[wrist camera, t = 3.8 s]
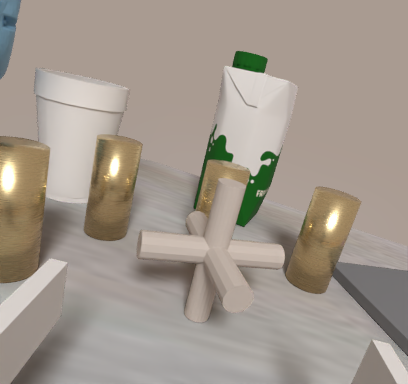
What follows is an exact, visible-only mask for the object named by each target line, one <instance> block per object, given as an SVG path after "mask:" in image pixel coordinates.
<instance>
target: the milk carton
mask: <svg viewBox="0 0 408 384" xmlns="http://www.w3.org/2000/svg"><path fill="white" fill-rule="evenodd" d="M266 64H267V58H265V57H263V56H259V55H256V54H252V53H248V52H243V51H236V53H235V57H234V61H233V66H232V67H228V66H224V70H223V76H222V83H221V89H220V96H219V100H218V105H217V109H216V113H215V118H214V122H213V126H212V130H211V134H210V138H209V142H208V147H207V151H206V155H205V159H204V163H203V167H202V172H201V176H200V181H199V186H198V190H197V195H196V199H195V204H194V208H195V209H196V207H197V203H198V198H199V194H200V190H201V186H202V182H203V178H204V174H205V170H206V166H207V162H208V160H212V159H215V160H223V161H228V162H232V163H235V164H238V165H241V166H243V167H245V168H247V169H249V170H250V171H251V172H250V176H249V179H248V183H247V186H246V190H245V193H244V197H243V200H242V204H241V207H240V211H239V214H238V218H237V221H236V224H238V225H240V226H243V227H244V226H245V225H246V224H247V223H248V222H249V221H250V220H251V219H252V218H253V217H254V215H255V214H256V213H257V212H258V210H259V208H260V206H261V204H262V202H263V200H264V197H265V195H266V193H267V191H268V189H269V187H270V185H271V182H272V178H273V175H274V172H275V169H276V166H277V162H278V159H279V156H280V153H281V149H282V146H283V143H284V139H285V136H286V133H287V129H288V127H289V123H290V120H291V115H292V111H293V106H294V102H295V97H296V93H297V89H298V87H297V86H296V85H294V84H293V83H292V82H290V81H287V80H282V79H278V78H274V77H273V76H270V75H267V74H264V72H265V68H266Z"/></svg>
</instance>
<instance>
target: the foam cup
mask: <svg viewBox="0 0 408 384" xmlns="http://www.w3.org/2000/svg"><path fill="white" fill-rule="evenodd" d="M129 92H130V89H128V88H126V87H124V86H120V85H117V84H114V83H110V82H106V81H102V80H98V79H94V78H90V77H85V76H81V75H76V74H71V73H67V72H61V71H56V70H50V69H45V68H36V72H35V84H34V93H35V94H36V102H37V122H38V142H40V143H43V144H45V145H47V146H49V147H50V157H49V167H48V177H47V186H46V197H48V198H50V199H53V200H56V201H60V202H66V203H87V202H88V195H89V188H90V181H91V174H92V167H93V160H94V153H95V146H96V139H97V135H100V134H110V135H117V134H118V131H119V127H120V124H121V121H122V117H123V114H124V111H126V110H127V104H128V98H129Z"/></svg>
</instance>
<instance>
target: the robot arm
mask: <svg viewBox="0 0 408 384" xmlns="http://www.w3.org/2000/svg"><path fill="white" fill-rule="evenodd" d="M20 2H21V0H0V79H1V78H2V77H3V76H4V74H5V72H6V70H7V67H8V63H9V60H10V56H11V51H12V47H13V42H14V37H15V31H16V25H15V24H16V22H17V17H18V13H19V9H20ZM67 267H68V263H67V262H63V261H59V260H55V259H51V258H50V259H49V260H48V261H47V262H46V263H45V264H44V265H43V266H42V267H40V268H39V269H38V270H37V271H36V272H35V273H34V274H33V275H32V276H31V277H30V278H29V279H28V280H26V281H25V282H24V283H23V284H22V285H21V286H20V287H19V288H18V289H17V290H16V291H15V292H13V293H12V294H11V295H10V296H9V297H8V298H7V299H6V300H5V301H4V302H3V303H2V304H1V305H0V384H11V382H12V381H13V380H14V378H15V377H16V376H17V374H18V373H19V372H20V370H21V369H22V368H23V366H24V365H25V364H26V362H27V361H28V360H29V358H30V357H31V356H32V354H33V353H34V352H35V350H36V349H37V348H38V346H39V345H40V344H41V342H42V341H43V340H44V338H45V337H46V336H47V334H48V333H49V332H50V330H51V329H52V328H53V326H54V325H55V324H56V323H57V321H58V320H59V319H60V317H61V312H62V304H63V297H64V289H65V282H66V274H67ZM351 384H408V372H407V371H406V369H405V367H404V366H403V364H402V363H401V361H400V359H399V358H398V356H397V355H396V353H395V351H394V350H393V348H392V347H391V345H390V344H388V343H384V342H380V341H376V340H371V343H370V345H369V347H368V349H367V351H366V353H365V355H364V358H363V360H362V362H361V364H360V366H359V368H358V370H357V373H356V375H355V377H354V379H353V381H352V383H351Z"/></svg>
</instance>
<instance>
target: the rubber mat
mask: <svg viewBox="0 0 408 384" xmlns="http://www.w3.org/2000/svg"><path fill="white" fill-rule="evenodd" d="M333 276H334V278H335V279H336V280H337V281H338V282H339V283H340V284H341V285H342V286H343V287H344V288H345V289H346V290H347V291H348V292H349V294H350V295H351V296H352V297H353V298H354V299H355V300H356V301H357V302H358V303H359V304H360V305H361V306H362V307H363V308H364V309H365V311H366V312H367V313H368V314H369V315H370V316H371V317H372V318H373V319H374V320H375V321H376V322H377V323H378V324H379V325H380V326H381V328H382V329H383V330H384V331H385V332H386V333H387V334H388V335H389V336H390V337H391V338H392V339H393V340H394V341H395V342H396V344H397V345H398V346H399V347H400V348H401V349H402V350H403V351H404V352H405V353H406V354H407V355H408V271H405V270H397V269H389V268H381V267H373V266H366V265H358V264H350V263H342V262H337V265H336V267H335V270H334V272H333Z"/></svg>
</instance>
